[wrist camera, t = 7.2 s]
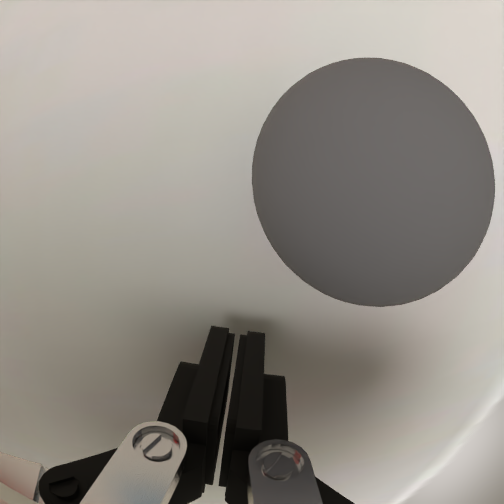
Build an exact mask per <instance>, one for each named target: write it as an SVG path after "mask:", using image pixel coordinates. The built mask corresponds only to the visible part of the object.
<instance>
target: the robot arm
mask: <svg viewBox="0 0 504 504" xmlns="http://www.w3.org/2000/svg"><path fill="white" fill-rule="evenodd" d="M234 338H235V334H232V333H229V328H223V327H216V326H211V329H210V332H209V335H208V338H207V341H206V344H205V348H204V351H203V354H202V357H201V360H200V364H199V365H198V364H192V363H187V362H180V364H179V366H178V368H177V371H176V373H175V376H174V378H173V381H172V383H171V386H170V388H169V391H168V394H167V396H166V399H165V401H164V404H163V406H162V409H161V412H160V414H159V417H158V419H157V421H149V422H145V423H141V424H139V425H137V426H135V427H134V428H133V429H132V430H131V431H130V432H129V433H128V434H127V436H126V437H125V439H124V440H123V442H122V443H121V444H120V446H119V447H118V448H116V449H113V450H110V451H107V452H104V453H101V454H98V455H94V456H91V457H88V458H84V459H81V460H78V461H74V462H70V463H67V464H63V465H59V466H56V467H53V468H51V469H48V468H44V467H43V466H42V464H39V463H36V462H32V461H28V460H25V459H21V458H18V457H15V456H11V455H8V454H5V453H2V452H0V504H189V503H190V502H192V501H194V500H196V499H198V498H200V497H201V495H202V493H204V489H205V484H209V485H213V480H214V474H215V468H216V462H217V456H218V450H219V444H220V438H221V432H222V426H223V420H224V414H225V408H226V402H227V395H228V387H229V379H230V370H231V362H232V354H233V346H234ZM264 354H265V333H259V332H251V331H248V333H247V335H240V340H239V347H238V353H237V360H236V366H235V373H234V379H233V386H232V392H231V398H230V405H229V411H228V418H227V425H226V432H225V440H224V448H223V455H222V463H221V471H220V479H219V486H223V487H226V492H225V501H226V502H227V503H228V504H354V503H353V502H351V501H350V500H348V499H347V498H345V497H344V496H342V495H341V494H339V493H338V492H336V491H335V490H333V489H332V488H331V487H329V486H328V485H326V484H325V483H323V482H322V481H321V480H319V479H318V478H316V477H315V475H314V472H313V468H312V465H311V461H310V459H309V457H308V455H307V453H306V452H305V451H304V450H303V449H302V448H301V447H300V446H298V445H296V444H295V443H293V442H289V441H288V425H287V403H286V383H285V377H284V376H277V375H268V374H264Z"/></svg>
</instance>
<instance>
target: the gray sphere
mask: <svg viewBox="0 0 504 504" xmlns="http://www.w3.org/2000/svg"><path fill="white" fill-rule="evenodd" d="M252 185H253V195H254V202H255V206H256V210H257V214H258V217H259V220H260V222H261V225H262V227H263V230H264V232H265V234H266V236H267V238H268V240H269V242H270V243H271V245H272V247H273V248H274V250H275V251H276V252H277V254H278V255H279V257H280V258H281V259H282V260H283V262H284V263H285V264H286V265H287V266H288V267H289V268H290V269H291V270H292V271H293V272H294V273H295V274H296V275H297V276H299V277H300V278H301V279H302V280H303V281H304V282H306V283H307V284H309V285H310V286H312V287H314V288H315V289H317V290H319V291H320V292H322V293H324V294H326V295H328V296H331V297H333V298H335V299H338V300H341V301H344V302H348V303H352V304H356V305H363V306H376V307H384V306H394V305H402V304H406V303H409V302H413V301H416V300H419V299H422V298H424V297H426V296H428V295H430V294H432V293H434V292H436V291H438V290H440V289H441V288H442V287H444V286H445V285H446V284H448V283H449V282H450V281H452V280H453V279H454V278H456V277H457V276H458V275H459V274H460V273H461V272H462V270H463V269H464V268H465V267H466V266H467V265H468V264H469V262H470V261H471V260H472V259H473V257H474V256H475V254H476V253H477V251H478V249H479V247H480V245H481V243H482V241H483V239H484V237H485V235H486V232H487V230H488V227H489V224H490V220H491V216H492V211H493V205H494V197H495V179H494V170H493V163H492V158H491V155H490V151H489V148H488V145H487V142H486V139H485V137H484V134H483V132H482V130H481V128H480V127H479V125H478V123H477V121H476V119H475V118H474V116H473V115H472V113H471V112H470V111H469V109H468V108H467V107H466V105H465V104H464V103H463V102H462V100H461V99H460V98H459V97H458V96H457V95H456V94H455V93H454V92H453V91H452V90H450V89H449V88H448V87H447V86H446V85H444V84H443V83H442V82H440V81H439V80H437V79H436V78H434V77H433V76H431V75H430V74H428V73H426V72H424V71H422V70H420V69H417V68H415V67H413V66H410V65H408V64H405V63H402V62H397V61H393V60H388V59H382V58H354V59H348V60H343V61H339V62H335V63H332V64H329V65H326V66H324V67H322V68H319V69H317V70H315V71H313V72H311V73H309V74H308V75H307V76H305V77H304V78H302V79H301V80H300V81H298V82H297V83H296V84H294V85H293V86H292V87H291V88H290V89H289V90H288V91H287V92H286V93H285V94H284V95H283V96H282V97H281V98H280V99H279V101H278V102H277V103H276V105H275V106H274V107H273V109H272V110H271V112H270V113H269V115H268V117H267V119H266V121H265V122H264V124H263V127H262V129H261V132H260V134H259V137H258V140H257V144H256V147H255V151H254V158H253V165H252Z"/></svg>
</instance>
